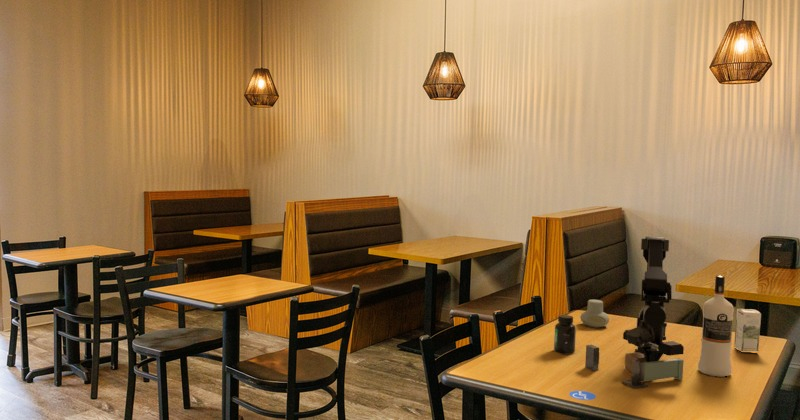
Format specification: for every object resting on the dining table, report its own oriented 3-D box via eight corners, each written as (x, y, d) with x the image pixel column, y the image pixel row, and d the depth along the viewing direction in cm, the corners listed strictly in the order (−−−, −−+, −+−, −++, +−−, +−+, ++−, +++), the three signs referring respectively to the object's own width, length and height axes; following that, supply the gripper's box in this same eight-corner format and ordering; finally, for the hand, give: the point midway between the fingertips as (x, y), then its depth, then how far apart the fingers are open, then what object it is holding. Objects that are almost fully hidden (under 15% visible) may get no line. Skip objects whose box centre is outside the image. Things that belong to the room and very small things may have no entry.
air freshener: (581, 327, 245) (582, 302, 244) (578, 322, 253) (580, 298, 252) (610, 329, 243) (611, 304, 242) (607, 324, 251) (608, 299, 251)
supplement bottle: (552, 353, 209) (554, 317, 208) (555, 347, 215) (556, 313, 215) (573, 355, 207) (575, 319, 206) (575, 350, 213) (577, 315, 212)
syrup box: (750, 349, 220) (753, 308, 219) (758, 354, 214) (761, 312, 213) (733, 348, 220) (736, 307, 219) (741, 353, 214) (743, 311, 214)
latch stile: (591, 366, 195) (592, 344, 195) (599, 370, 192) (600, 347, 192) (585, 367, 195) (586, 345, 194) (592, 370, 191) (593, 348, 191)
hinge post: (635, 381, 183) (636, 357, 182) (648, 386, 178) (649, 362, 178) (622, 383, 181) (623, 359, 180) (634, 388, 176) (635, 364, 176)
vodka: (728, 370, 195) (734, 274, 193) (734, 379, 187) (740, 279, 185) (695, 366, 198) (701, 272, 196) (700, 375, 189) (705, 277, 187)
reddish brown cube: (637, 367, 196) (638, 352, 195) (649, 372, 191) (650, 356, 191) (624, 369, 194) (625, 353, 193) (636, 374, 189) (637, 358, 189)
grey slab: (641, 384, 179) (642, 364, 179) (637, 382, 181) (638, 362, 180) (682, 379, 185) (683, 359, 185) (677, 377, 187) (678, 358, 186)
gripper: (610, 313, 192) (607, 363, 193) (656, 328, 175) (653, 383, 176) (638, 310, 196) (636, 359, 197) (686, 325, 179) (683, 378, 180)
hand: (650, 369), depth 187 cm, fingers closed
